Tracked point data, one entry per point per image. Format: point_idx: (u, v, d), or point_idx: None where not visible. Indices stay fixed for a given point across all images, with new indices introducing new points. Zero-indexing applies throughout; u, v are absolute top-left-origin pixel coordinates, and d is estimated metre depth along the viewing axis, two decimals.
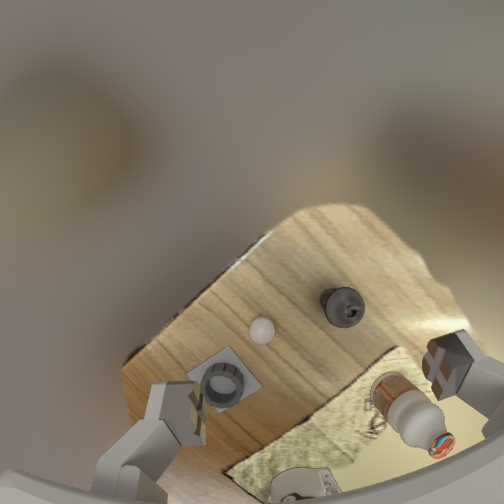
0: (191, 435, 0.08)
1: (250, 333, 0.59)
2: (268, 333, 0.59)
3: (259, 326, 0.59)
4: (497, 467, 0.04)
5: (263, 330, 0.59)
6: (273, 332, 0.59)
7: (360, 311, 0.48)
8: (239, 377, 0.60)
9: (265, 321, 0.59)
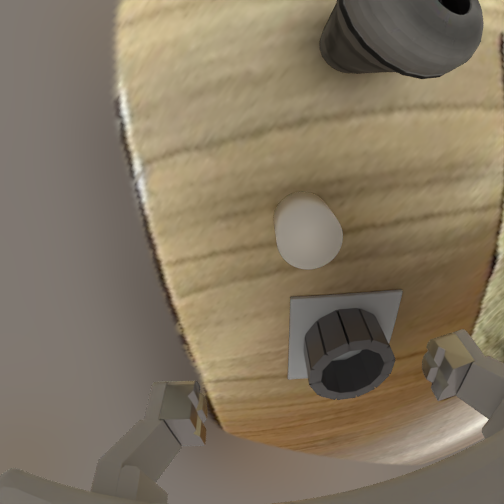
0: (191, 435, 0.08)
1: (295, 263, 0.24)
2: (323, 228, 0.22)
3: (294, 236, 0.23)
4: (497, 467, 0.04)
5: (308, 234, 0.23)
6: (329, 216, 0.22)
7: None
8: (359, 329, 0.27)
9: (292, 216, 0.22)
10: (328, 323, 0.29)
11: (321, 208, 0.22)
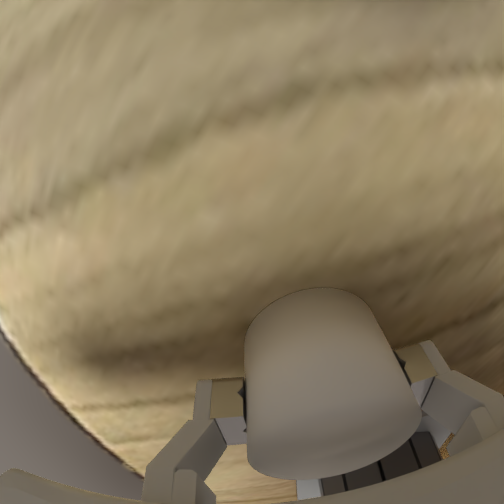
0: (240, 433, 0.08)
1: (298, 477, 0.08)
2: (374, 427, 0.07)
3: (294, 452, 0.07)
4: (497, 467, 0.04)
5: (332, 444, 0.07)
6: (397, 405, 0.06)
7: None
8: None
9: (287, 426, 0.06)
10: (359, 469, 0.14)
11: (377, 392, 0.06)
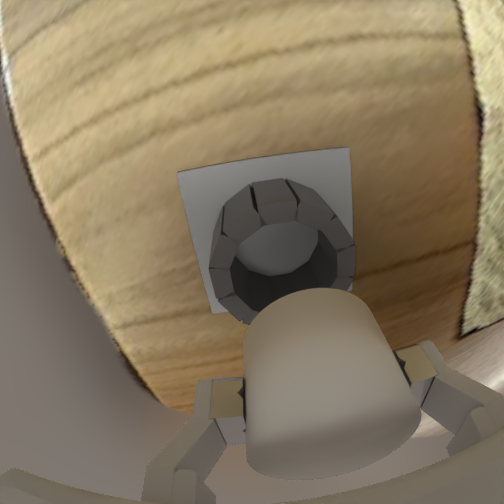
0: (240, 433, 0.08)
1: (298, 477, 0.08)
2: (374, 427, 0.07)
3: (293, 452, 0.07)
4: (497, 467, 0.04)
5: (332, 444, 0.07)
6: (397, 405, 0.06)
7: None
8: (278, 193, 0.18)
9: (286, 426, 0.06)
10: (235, 200, 0.20)
11: (376, 393, 0.06)
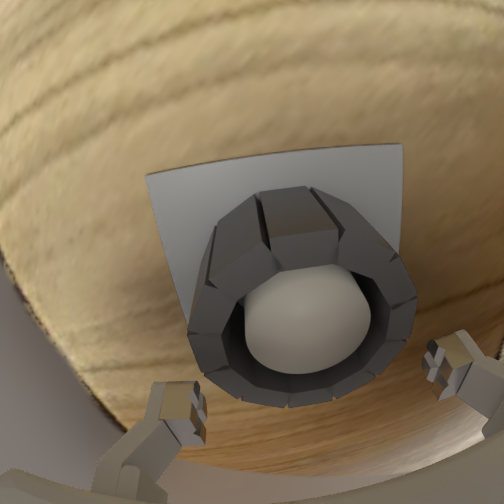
0: (191, 435, 0.08)
1: (284, 368, 0.12)
2: (333, 311, 0.11)
3: (278, 331, 0.11)
4: (497, 467, 0.04)
5: (305, 325, 0.11)
6: (345, 290, 0.11)
7: None
8: (303, 213, 0.11)
9: (271, 299, 0.11)
10: (233, 219, 0.13)
11: (329, 276, 0.11)
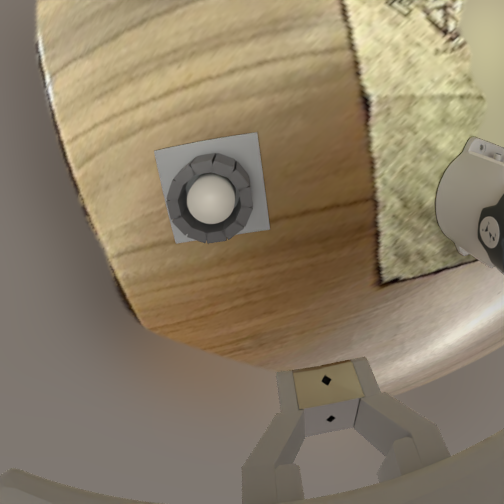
0: (323, 422, 0.08)
1: (205, 221, 0.33)
2: (216, 191, 0.31)
3: (198, 201, 0.32)
4: (497, 467, 0.04)
5: (208, 198, 0.31)
6: (218, 182, 0.31)
7: None
8: (205, 158, 0.31)
9: (193, 188, 0.31)
10: (186, 165, 0.33)
11: (212, 177, 0.31)
